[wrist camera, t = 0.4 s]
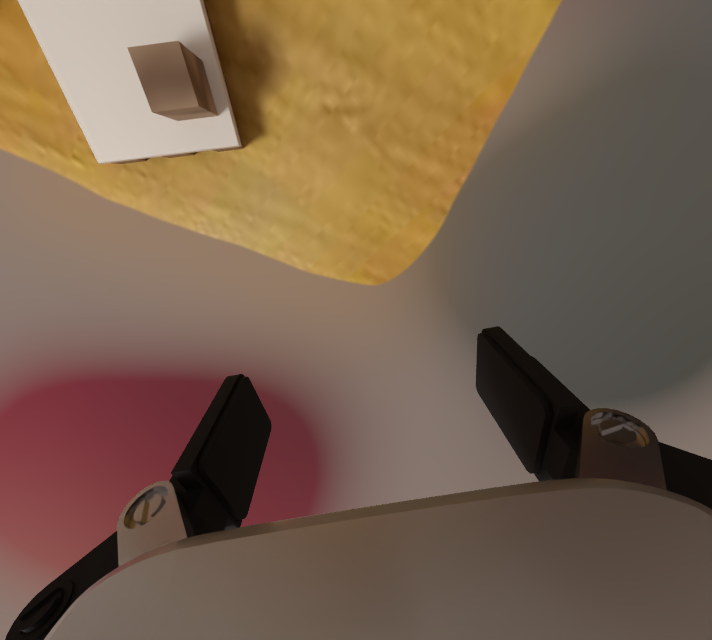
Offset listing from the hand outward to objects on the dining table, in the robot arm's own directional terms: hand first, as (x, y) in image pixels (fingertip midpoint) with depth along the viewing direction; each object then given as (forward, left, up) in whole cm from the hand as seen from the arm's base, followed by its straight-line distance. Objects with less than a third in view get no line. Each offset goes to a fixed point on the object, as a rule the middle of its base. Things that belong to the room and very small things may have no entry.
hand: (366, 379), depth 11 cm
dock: (-20, -19, -31) cm, 41 cm away
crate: (-17, -15, -28) cm, 35 cm away
